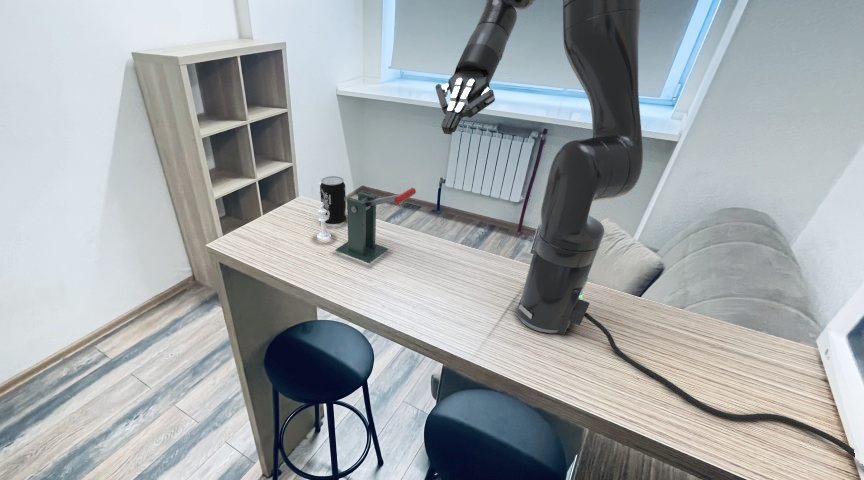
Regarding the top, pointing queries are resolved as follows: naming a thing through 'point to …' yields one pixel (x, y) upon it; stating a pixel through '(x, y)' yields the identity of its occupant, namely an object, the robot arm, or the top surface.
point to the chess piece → (323, 223)
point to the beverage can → (333, 199)
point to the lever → (389, 198)
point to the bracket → (361, 230)
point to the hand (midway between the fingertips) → (446, 131)
